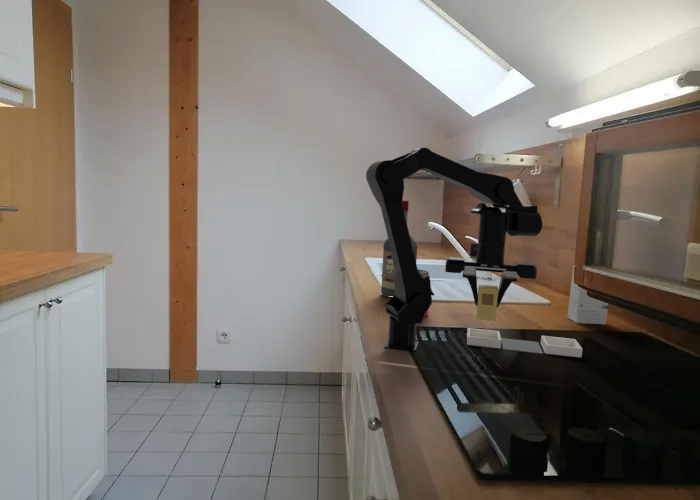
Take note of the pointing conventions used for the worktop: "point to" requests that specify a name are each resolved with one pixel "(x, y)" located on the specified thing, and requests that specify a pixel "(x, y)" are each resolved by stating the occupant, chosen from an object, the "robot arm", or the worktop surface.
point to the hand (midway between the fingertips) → (486, 306)
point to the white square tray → (561, 346)
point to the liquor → (392, 262)
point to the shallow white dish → (483, 338)
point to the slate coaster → (521, 345)
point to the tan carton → (487, 302)
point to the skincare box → (585, 306)
